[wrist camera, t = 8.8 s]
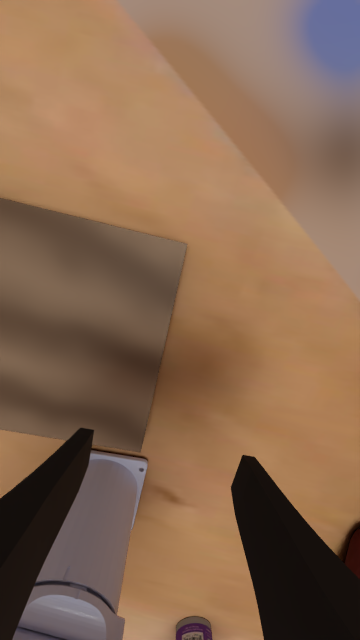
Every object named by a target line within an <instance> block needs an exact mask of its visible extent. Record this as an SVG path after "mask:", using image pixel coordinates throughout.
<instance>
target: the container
mask: <svg viewBox="0 0 360 640" xmlns="http://www.w3.org/2000/svg"><path fill="white" fill-rule="evenodd" d="M176 640H212V632H211V625H210V623H209V622H208V621H207V620H206V619H204V618H201V617H188V618H185V619H183V620H181V621H180V622H179V623H178V624H177V626H176Z"/></svg>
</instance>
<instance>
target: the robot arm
mask: <svg viewBox="0 0 360 640" xmlns="http://www.w3.org/2000/svg"><path fill="white" fill-rule="evenodd" d="M93 435H94V430H92V429H86V428H79V429H78V430H77V431H76V432H75V433H74V434H73V435H72V436H71V437H70V438H69V439H68V440H67V441H66V442H65V443H64V444H63V445H62V446H61V447H60V448H59V449H58V450H57V451H56V452H55V453H54V454H53V455H51V456H50V457H49V458H48V459H47V460H46V461H45V462H44V463H43V464H42V465H40V466H39V467H38V468H37V469H36V470H35V471H34V472H32V473H31V474H30V475H29V476H28V477H26V478H25V479H24V480H23V481H22V482H20V483H19V484H18V485H17V486H16V487H14V488H13V489H12V490H11V491H9V492H8V493H7V494H6V495H4V496H3V497H2V498H0V640H122V639H123V631H124V624H125V619H124V618H122V617H119V616H117V612H118V606H119V600H120V593H121V587H122V581H123V575H124V569H125V563H126V557H127V551H128V545H129V539H130V533H131V530H132V529H133V525H134V520H135V516H136V512H137V508H138V504H139V499H140V495H141V491H142V487H143V483H144V478H145V474H146V470H147V465H148V461H147V460H146V459H143V458H136V457H130V456H124V455H118V454H112V453H105V452H99V451H93V450H91V447H92V441H93ZM231 491H232V498H233V505H234V511H235V516H236V520H237V524H238V528H239V532H240V536H241V540H242V544H243V548H244V551H245V555H246V559H247V563H248V567H249V571H250V575H251V579H252V582H253V586H254V591H255V595H256V600H257V604H258V609H259V615H260V620H261V625H262V631H263V636H264V640H360V579H359V578H358V577H357V576H356V575H355V574H354V573H353V572H352V571H351V570H350V569H349V568H348V567H347V566H346V565H345V564H344V563H343V562H342V561H341V560H340V558H339V557H338V556H337V555H336V554H335V553H334V552H333V551H332V550H331V549H330V548H329V547H328V546H327V545H326V544H325V542H324V541H323V540H322V539H321V538H320V537H319V536H318V535H317V534H316V532H315V531H314V530H313V529H312V528H311V527H310V525H309V524H308V523H307V522H306V521H305V520H304V518H303V517H302V516H301V515H300V514H299V512H298V511H297V510H296V509H295V508H294V506H293V505H292V504H291V503H290V501H289V500H288V499H287V498H286V496H285V495H284V494H283V493H282V491H281V490H280V489H279V488H278V486H277V485H276V484H275V482H274V481H273V480H272V479H271V477H270V476H269V475H268V473H267V472H266V471H265V469H264V468H263V467H262V466H261V464H260V463H259V462H258V461H257V459H256V458H255V457H252V456H246V455H242V458H241V461H240V464H239V466H238V469H237V472H236V475H235V478H234V480H233V483H232V486H231Z"/></svg>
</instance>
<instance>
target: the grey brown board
mask: <svg viewBox="0 0 360 640" xmlns="http://www.w3.org/2000/svg"><path fill="white" fill-rule="evenodd" d="M186 248H187V244H186V243H182V242H177V241H173V240H169V239H165V238H161V237H157V236H153V235H149V234H145V233H141V232H137V231H133V230H129V229H125V228H120V227H116V226H112V225H108V224H104V223H100V222H96V221H92V220H88V219H84V218H80V217H76V216H72V215H68V214H63V213H59V212H55V211H51V210H47V209H43V208H39V207H35V206H31V205H27V204H23V203H19V202H15V201H11V200H6V199H2V198H0V430H6V431H13V432H19V433H25V434H31V435H37V436H43V437H49V438H55V439H61V440H68V439H69V438H70V437H71V436H72V435H73V434H74V433H75V432H76V431H77V430H78V429H79V428H86V429H92V430H94V435H93V441H92V445H98V446H104V447H110V448H116V449H123V450H129V451H135V452H141V449H142V444H143V440H144V435H145V431H146V426H147V422H148V417H149V413H150V408H151V404H152V400H153V395H154V391H155V386H156V382H157V377H158V373H159V368H160V364H161V359H162V355H163V350H164V346H165V342H166V337H167V333H168V328H169V324H170V319H171V315H172V310H173V306H174V301H175V297H176V293H177V288H178V284H179V279H180V275H181V270H182V266H183V261H184V257H185V252H186Z"/></svg>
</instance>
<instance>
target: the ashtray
mask: <svg viewBox="0 0 360 640" xmlns="http://www.w3.org/2000/svg"><path fill="white" fill-rule="evenodd" d="M345 565H346V566H347V567H348V568H349V569H350V570H351V571H352V572H353V573H354V574H355V575H356V576H357V577H358V578H359V579H360V528H359V529H357V530H356V531H355V532H354V534H353V536H352V538H351V539H350V543H349V548H348V551H347V555H346V559H345Z"/></svg>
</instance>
